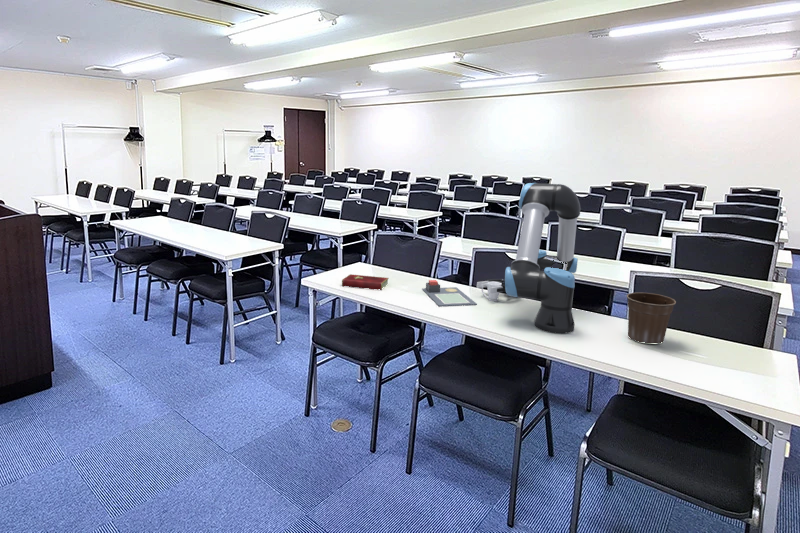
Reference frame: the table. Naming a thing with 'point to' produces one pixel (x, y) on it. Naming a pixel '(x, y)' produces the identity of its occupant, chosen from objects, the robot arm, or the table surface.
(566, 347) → the table surface
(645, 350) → the table surface
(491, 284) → the cup
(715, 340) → the table surface
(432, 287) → the button housing
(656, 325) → the plant pot
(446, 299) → the picture board
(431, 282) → the button
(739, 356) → the table surface
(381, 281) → the hardcover book
